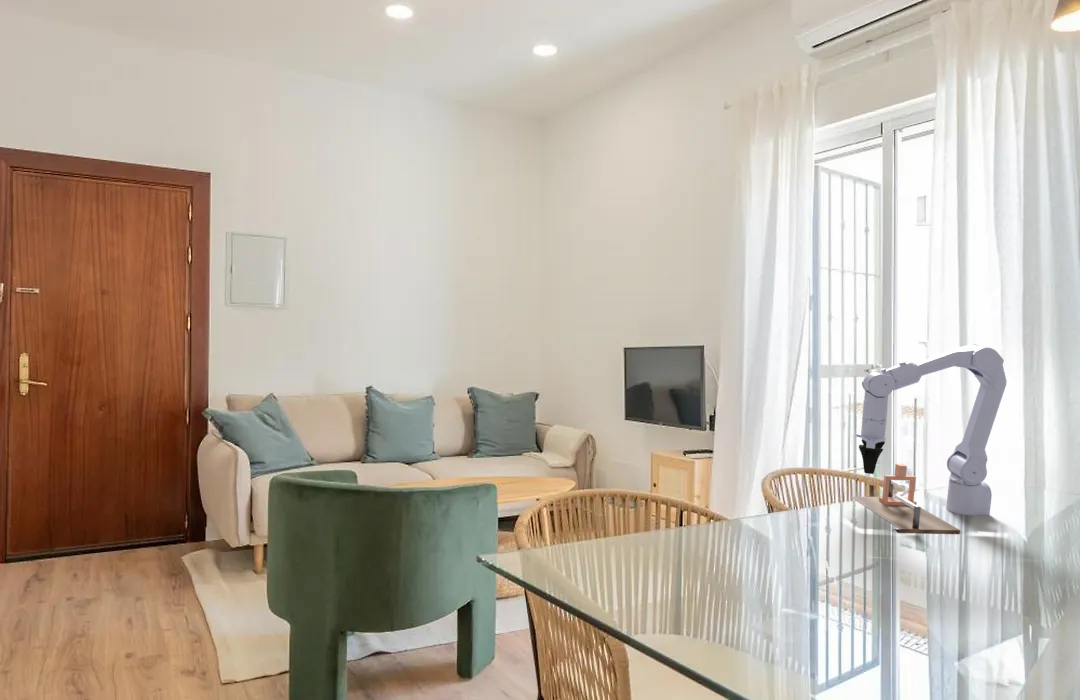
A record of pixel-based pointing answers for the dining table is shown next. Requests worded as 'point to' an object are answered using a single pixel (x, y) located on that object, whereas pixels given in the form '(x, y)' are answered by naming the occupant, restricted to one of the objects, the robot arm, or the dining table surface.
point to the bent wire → (905, 501)
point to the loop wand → (899, 475)
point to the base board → (907, 517)
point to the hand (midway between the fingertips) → (869, 469)
